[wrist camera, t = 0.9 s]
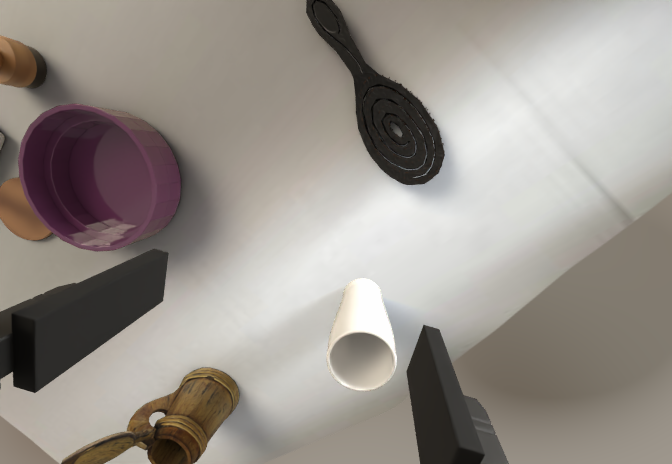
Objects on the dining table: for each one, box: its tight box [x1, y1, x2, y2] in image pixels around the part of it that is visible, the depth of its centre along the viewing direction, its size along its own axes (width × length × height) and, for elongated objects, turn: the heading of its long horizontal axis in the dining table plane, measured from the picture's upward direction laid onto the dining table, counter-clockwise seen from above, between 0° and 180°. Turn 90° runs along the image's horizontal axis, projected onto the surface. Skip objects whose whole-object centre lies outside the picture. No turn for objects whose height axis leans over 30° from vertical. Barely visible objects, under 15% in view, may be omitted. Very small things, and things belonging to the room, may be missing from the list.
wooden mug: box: [61, 368, 239, 464], centre depth 42 cm, size 9×14×18 cm, turn 49°
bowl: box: [18, 104, 181, 251], centre depth 41 cm, size 17×17×6 cm
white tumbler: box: [327, 279, 397, 391], centre depth 38 cm, size 7×7×15 cm
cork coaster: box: [0, 178, 52, 240], centre depth 46 cm, size 9×9×1 cm
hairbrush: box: [306, 0, 445, 185], centre depth 37 cm, size 8×4×25 cm
